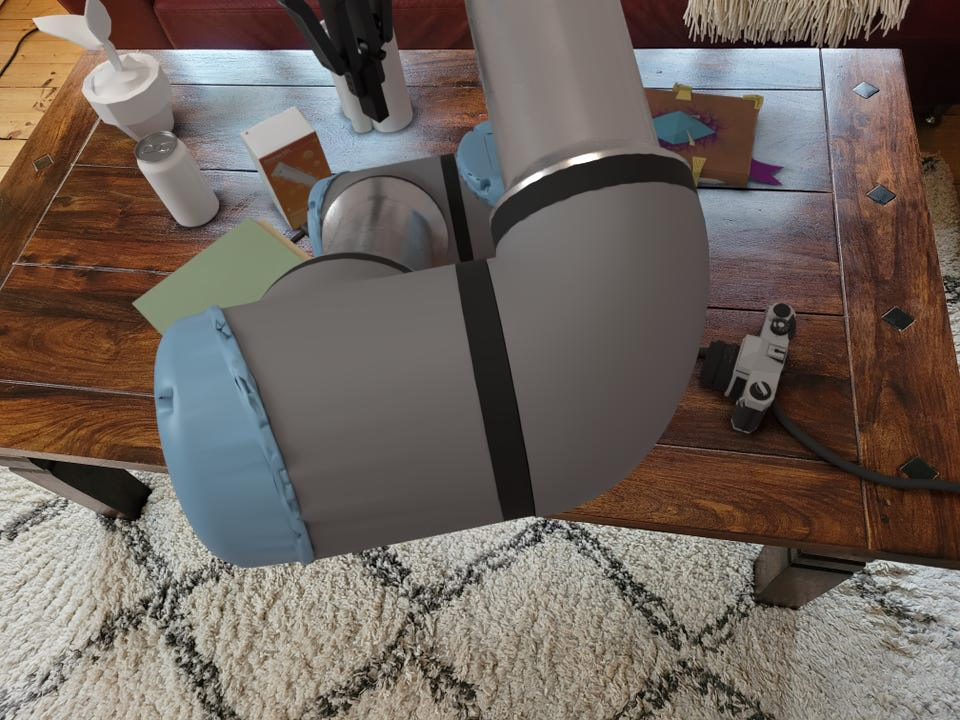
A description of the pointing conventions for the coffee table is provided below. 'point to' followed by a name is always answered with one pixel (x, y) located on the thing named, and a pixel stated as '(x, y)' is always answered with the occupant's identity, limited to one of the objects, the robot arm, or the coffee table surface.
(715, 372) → the camera
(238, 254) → the cabinet
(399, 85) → the vase
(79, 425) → the coffee table surface
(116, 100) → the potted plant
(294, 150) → the small box
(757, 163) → the book
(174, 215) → the can
